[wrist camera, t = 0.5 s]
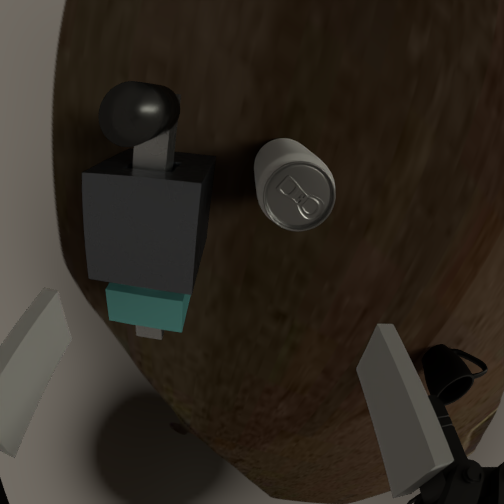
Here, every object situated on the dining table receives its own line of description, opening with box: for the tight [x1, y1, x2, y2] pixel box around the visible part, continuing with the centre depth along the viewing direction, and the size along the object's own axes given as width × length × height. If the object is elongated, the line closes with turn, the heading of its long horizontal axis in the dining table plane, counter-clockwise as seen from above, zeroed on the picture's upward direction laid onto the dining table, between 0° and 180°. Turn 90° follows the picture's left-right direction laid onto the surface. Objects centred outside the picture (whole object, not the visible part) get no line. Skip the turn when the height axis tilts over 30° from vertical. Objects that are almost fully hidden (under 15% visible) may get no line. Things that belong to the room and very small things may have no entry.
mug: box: [422, 344, 488, 406], centre depth 45 cm, size 8×12×10 cm
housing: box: [82, 148, 216, 295], centre depth 30 cm, size 10×10×12 cm
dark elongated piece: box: [99, 81, 181, 340], centre depth 26 cm, size 26×4×9 cm, turn 171°
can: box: [254, 138, 335, 231], centre depth 29 cm, size 6×6×12 cm
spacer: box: [106, 282, 191, 332], centre depth 33 cm, size 4×8×8 cm, turn 81°
